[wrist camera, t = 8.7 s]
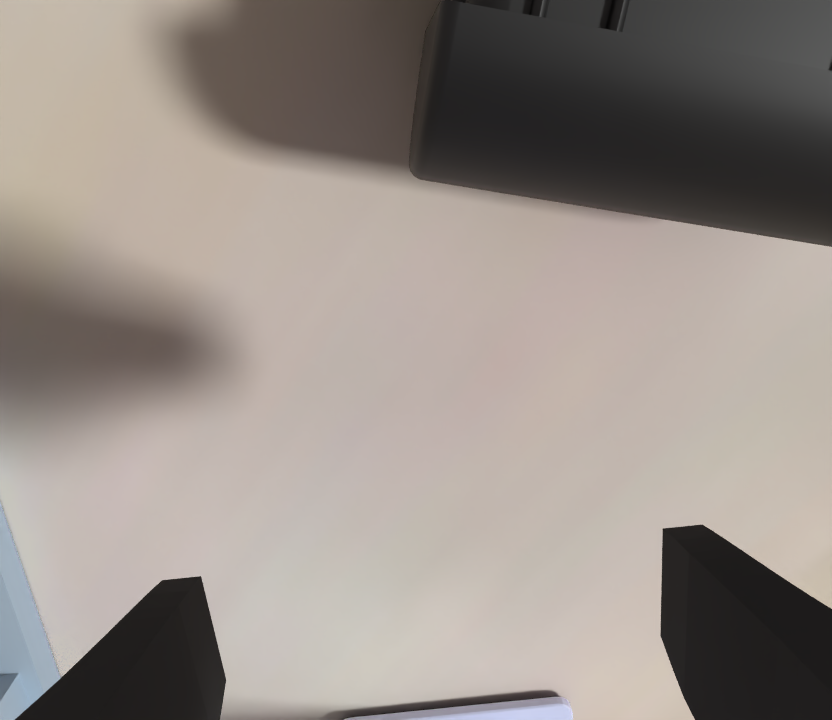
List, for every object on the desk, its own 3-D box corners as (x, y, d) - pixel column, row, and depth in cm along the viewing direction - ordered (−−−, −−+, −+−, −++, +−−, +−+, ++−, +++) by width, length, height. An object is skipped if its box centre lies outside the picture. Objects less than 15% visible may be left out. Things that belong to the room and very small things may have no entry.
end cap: (403, 162, 19) (410, 195, 12) (452, -159, 16) (492, -323, 10) (770, 222, 19) (954, 282, 13) (866, -74, 17) (1147, -176, 11)
